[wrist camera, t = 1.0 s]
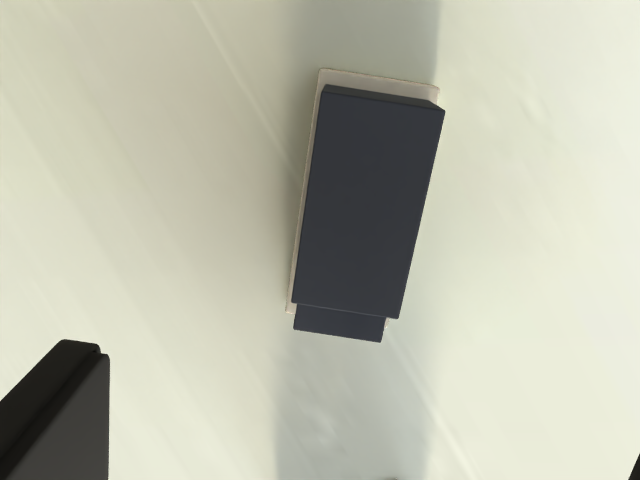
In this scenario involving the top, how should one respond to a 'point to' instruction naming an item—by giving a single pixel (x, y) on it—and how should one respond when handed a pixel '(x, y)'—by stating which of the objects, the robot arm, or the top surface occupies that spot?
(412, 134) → the stepped dark grey block
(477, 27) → the top surface
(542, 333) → the top surface
